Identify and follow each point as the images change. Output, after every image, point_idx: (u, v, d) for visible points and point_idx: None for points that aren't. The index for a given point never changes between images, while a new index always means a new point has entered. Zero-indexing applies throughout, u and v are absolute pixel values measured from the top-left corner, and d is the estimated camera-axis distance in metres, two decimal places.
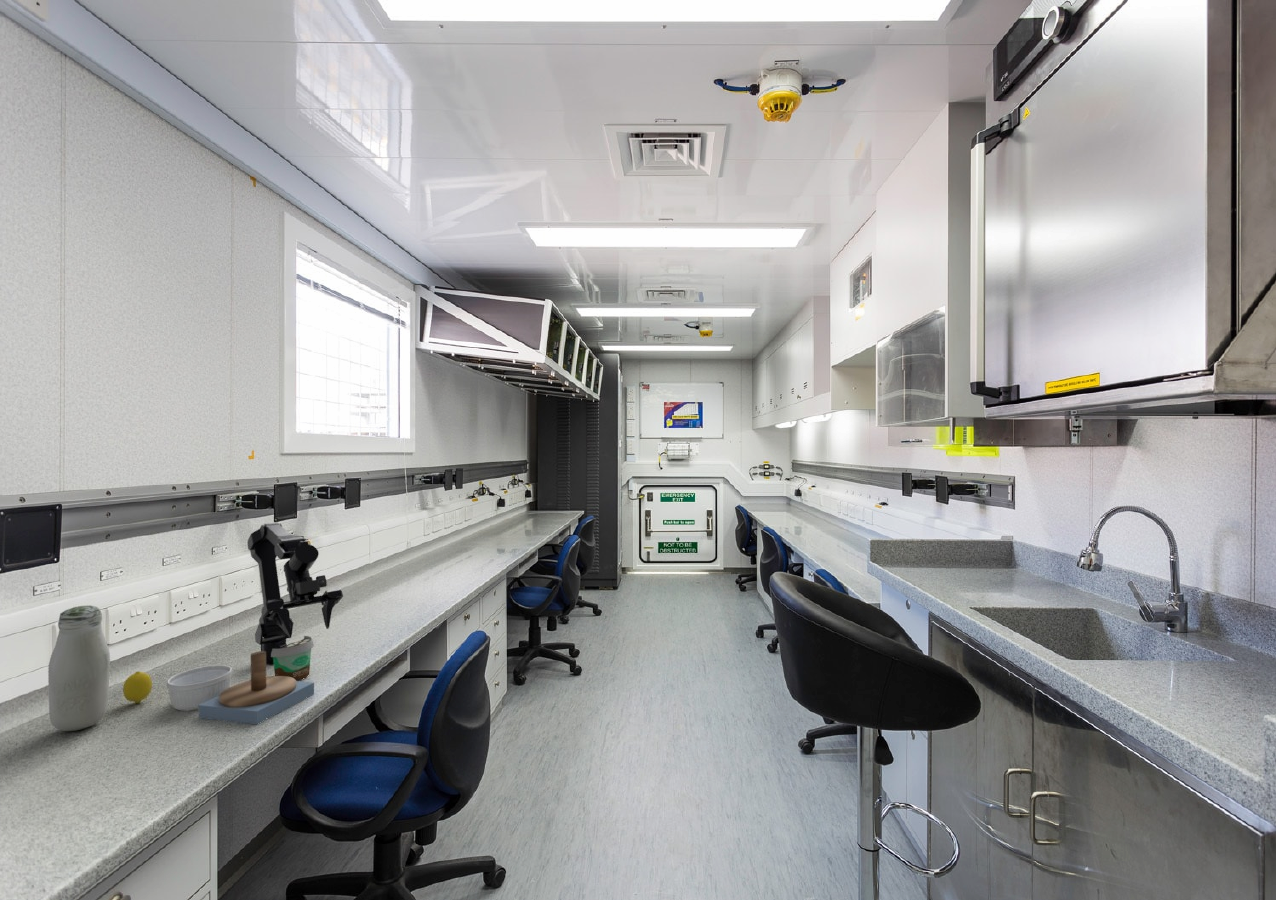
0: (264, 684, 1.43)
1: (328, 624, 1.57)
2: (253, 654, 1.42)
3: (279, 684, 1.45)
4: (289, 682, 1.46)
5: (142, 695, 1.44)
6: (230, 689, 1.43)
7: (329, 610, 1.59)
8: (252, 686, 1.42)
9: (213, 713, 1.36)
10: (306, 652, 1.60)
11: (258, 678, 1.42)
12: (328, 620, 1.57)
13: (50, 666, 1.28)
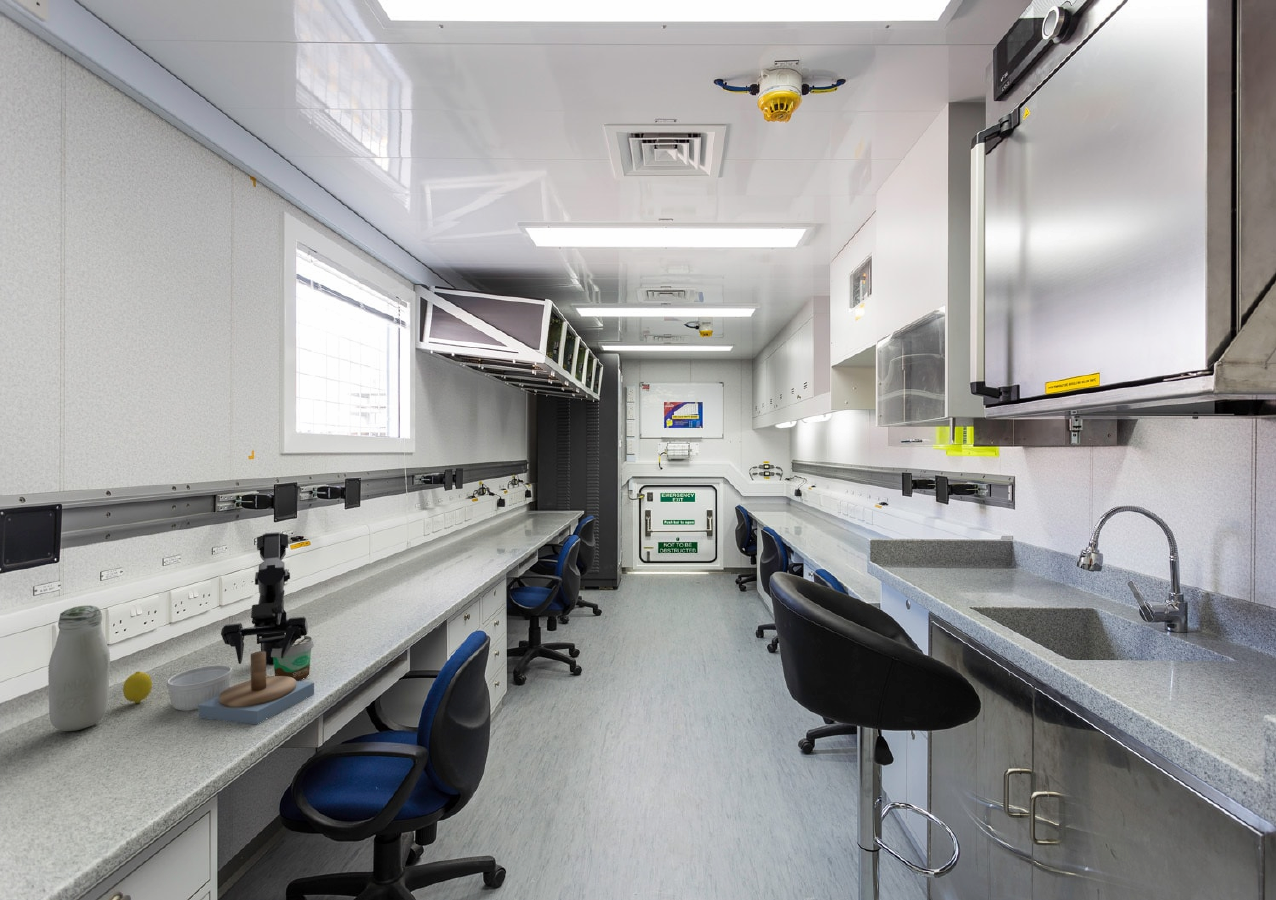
0: (264, 684, 1.43)
1: (282, 653, 1.47)
2: (253, 654, 1.42)
3: (279, 684, 1.45)
4: (289, 682, 1.46)
5: (142, 695, 1.44)
6: (230, 689, 1.43)
7: (287, 638, 1.50)
8: (252, 686, 1.42)
9: (213, 713, 1.36)
10: (306, 652, 1.60)
11: (258, 678, 1.42)
12: (283, 649, 1.48)
13: (50, 666, 1.28)
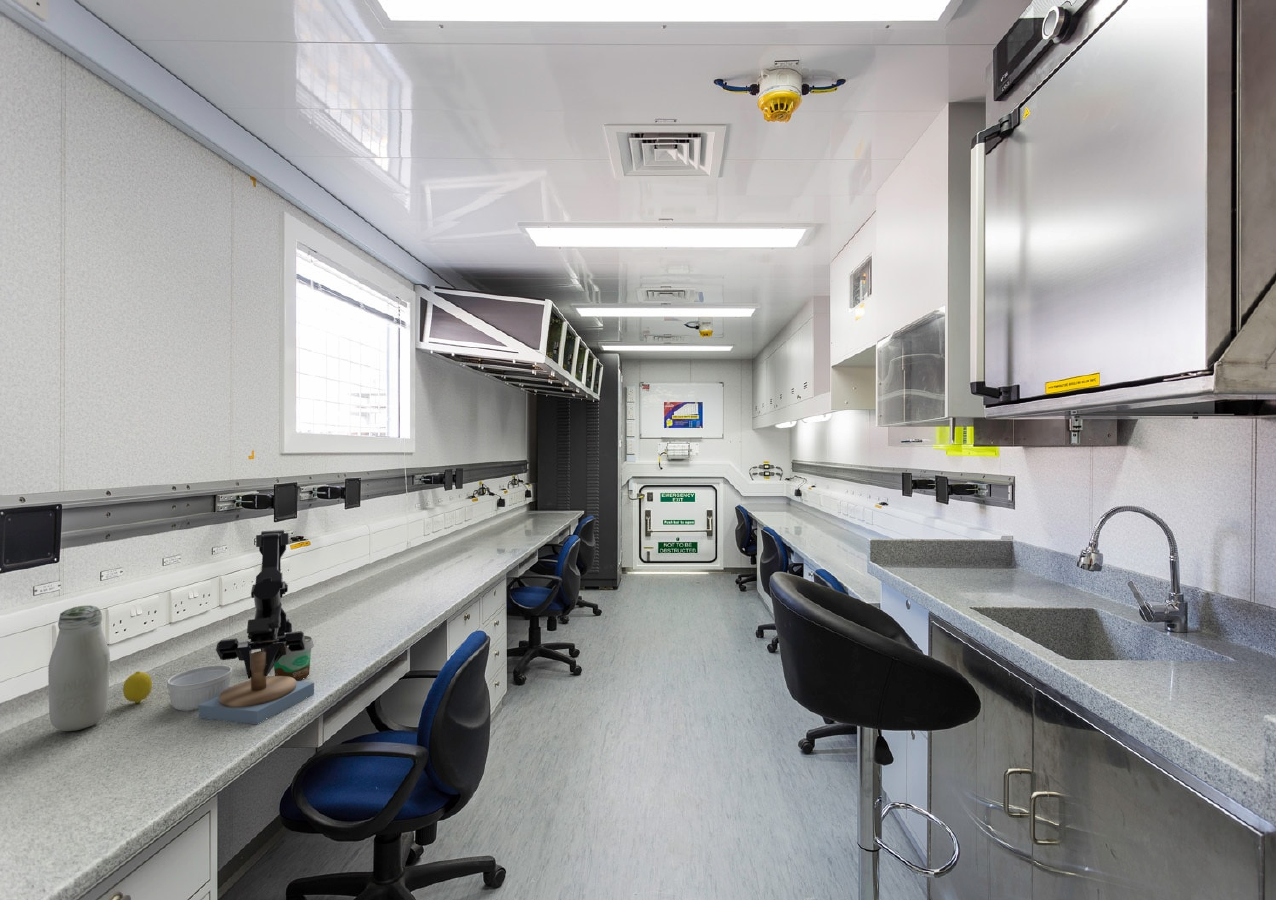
0: (264, 684, 1.43)
1: (266, 671, 1.43)
2: (253, 654, 1.42)
3: (279, 684, 1.45)
4: (289, 682, 1.46)
5: (142, 695, 1.44)
6: (230, 689, 1.43)
7: (271, 655, 1.45)
8: (252, 686, 1.42)
9: (213, 713, 1.36)
10: (306, 652, 1.60)
11: (258, 678, 1.42)
12: (267, 667, 1.43)
13: (50, 666, 1.28)
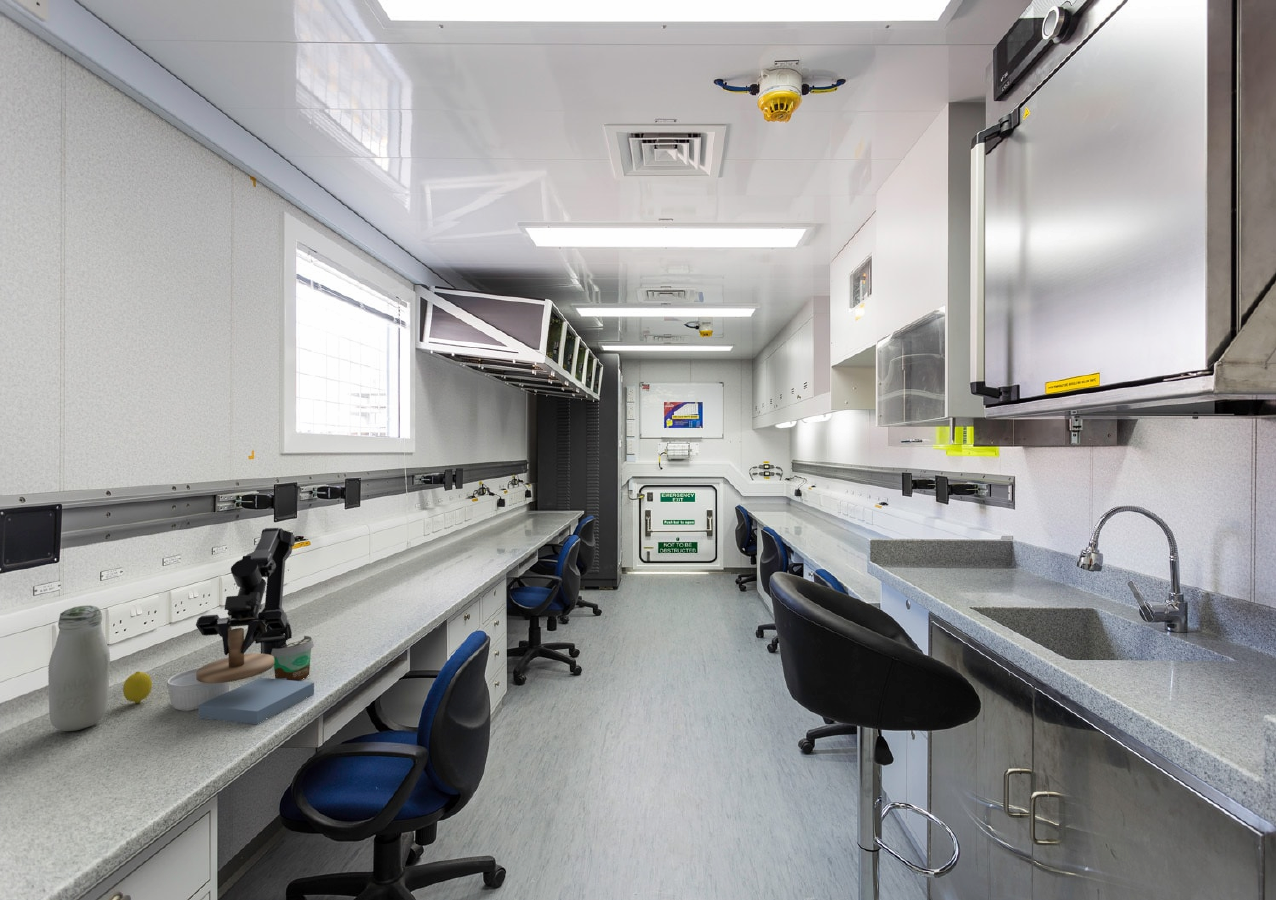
0: (241, 661, 1.43)
1: (242, 648, 1.42)
2: (230, 631, 1.42)
3: (256, 662, 1.45)
4: (267, 660, 1.46)
5: (142, 695, 1.44)
6: (210, 664, 1.43)
7: (249, 632, 1.45)
8: (229, 662, 1.42)
9: (213, 713, 1.36)
10: (306, 652, 1.60)
11: (235, 655, 1.42)
12: (244, 644, 1.43)
13: (50, 666, 1.28)
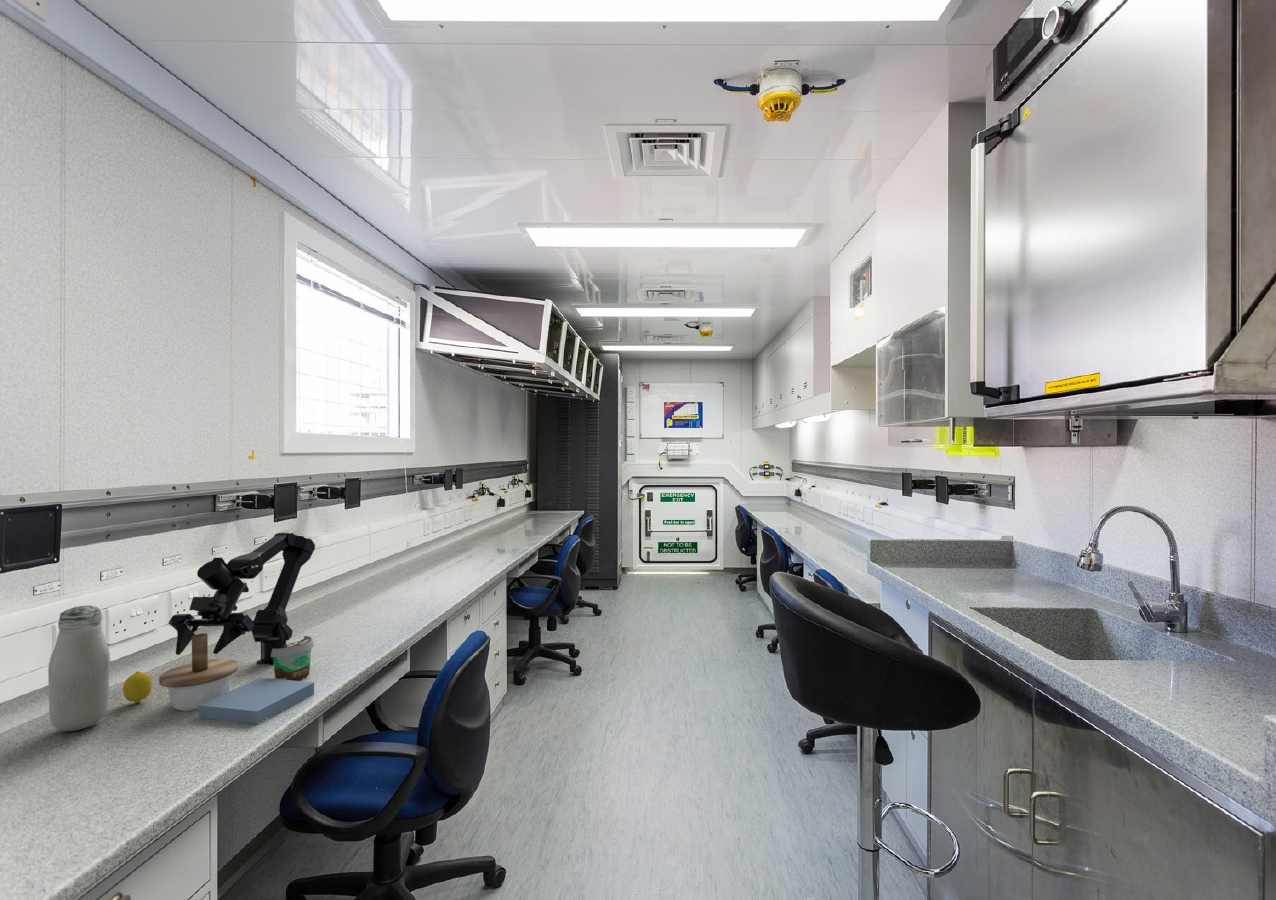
0: (203, 666, 1.45)
1: (215, 649, 1.45)
2: (194, 636, 1.45)
3: (218, 668, 1.47)
4: (229, 667, 1.47)
5: (142, 695, 1.44)
6: (180, 667, 1.48)
7: (223, 633, 1.47)
8: (192, 667, 1.45)
9: (213, 713, 1.36)
10: (306, 652, 1.60)
11: (196, 660, 1.44)
12: (217, 644, 1.45)
13: (50, 666, 1.28)
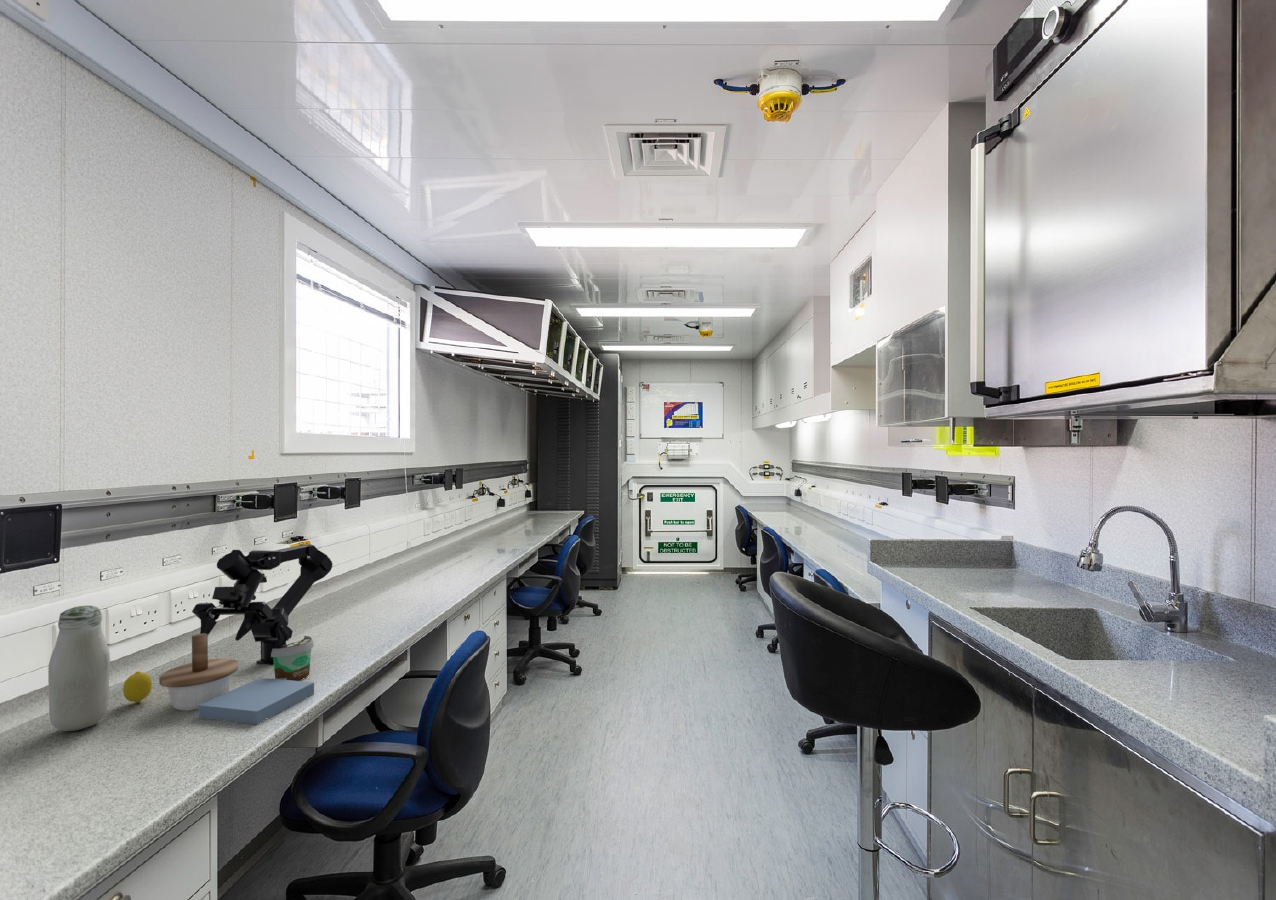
0: (203, 666, 1.45)
1: (236, 635, 1.53)
2: (194, 635, 1.45)
3: (219, 668, 1.47)
4: (229, 667, 1.47)
5: (142, 695, 1.44)
6: (180, 667, 1.48)
7: (244, 621, 1.55)
8: (192, 667, 1.45)
9: (213, 713, 1.36)
10: (306, 652, 1.60)
11: (196, 660, 1.44)
12: (239, 631, 1.54)
13: (50, 666, 1.28)
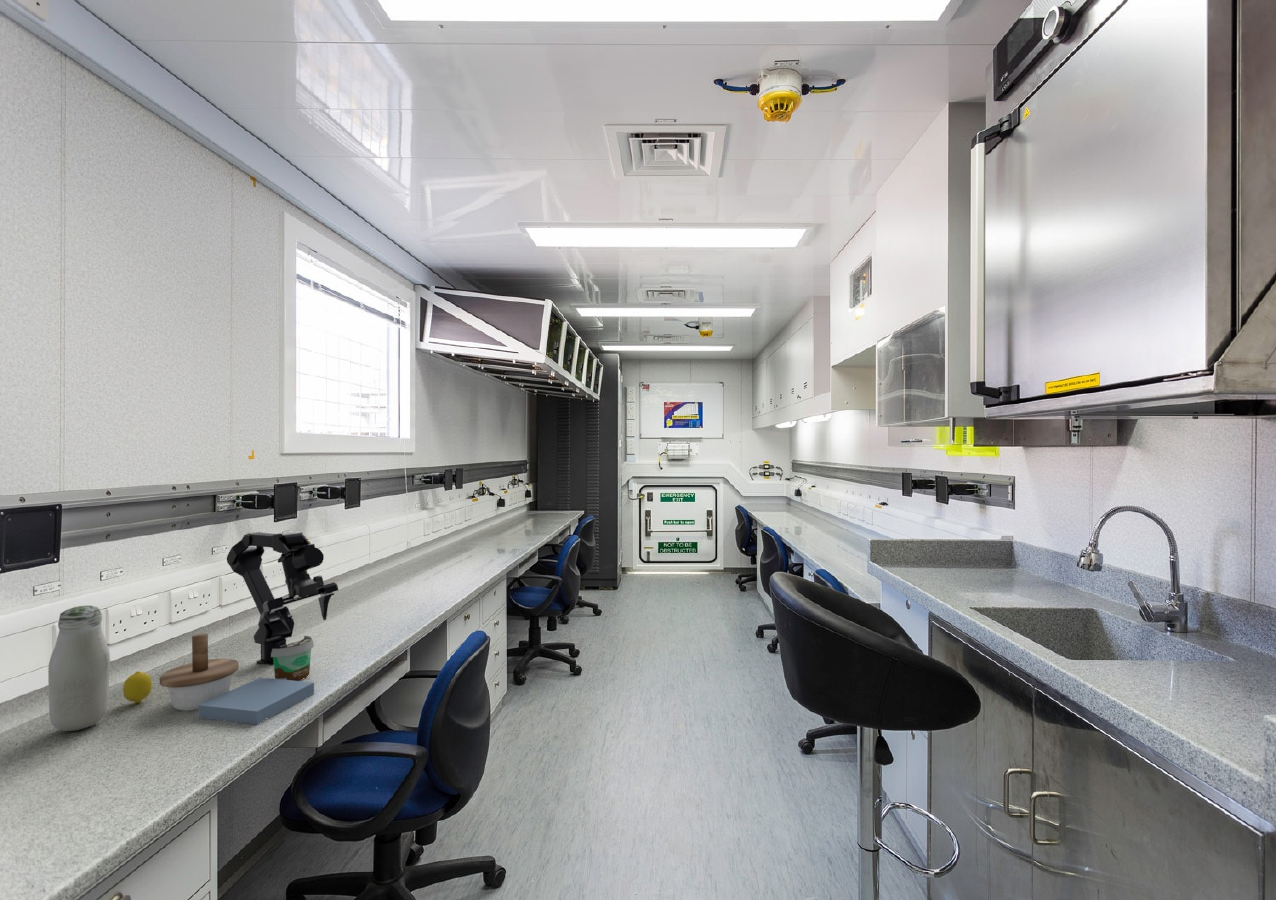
0: (203, 666, 1.45)
1: (325, 617, 1.71)
2: (194, 636, 1.46)
3: (219, 668, 1.47)
4: (229, 667, 1.47)
5: (142, 695, 1.44)
6: (181, 667, 1.48)
7: (325, 603, 1.71)
8: (192, 667, 1.45)
9: (213, 713, 1.36)
10: (306, 652, 1.60)
11: (197, 660, 1.44)
12: (325, 613, 1.71)
13: (50, 666, 1.28)
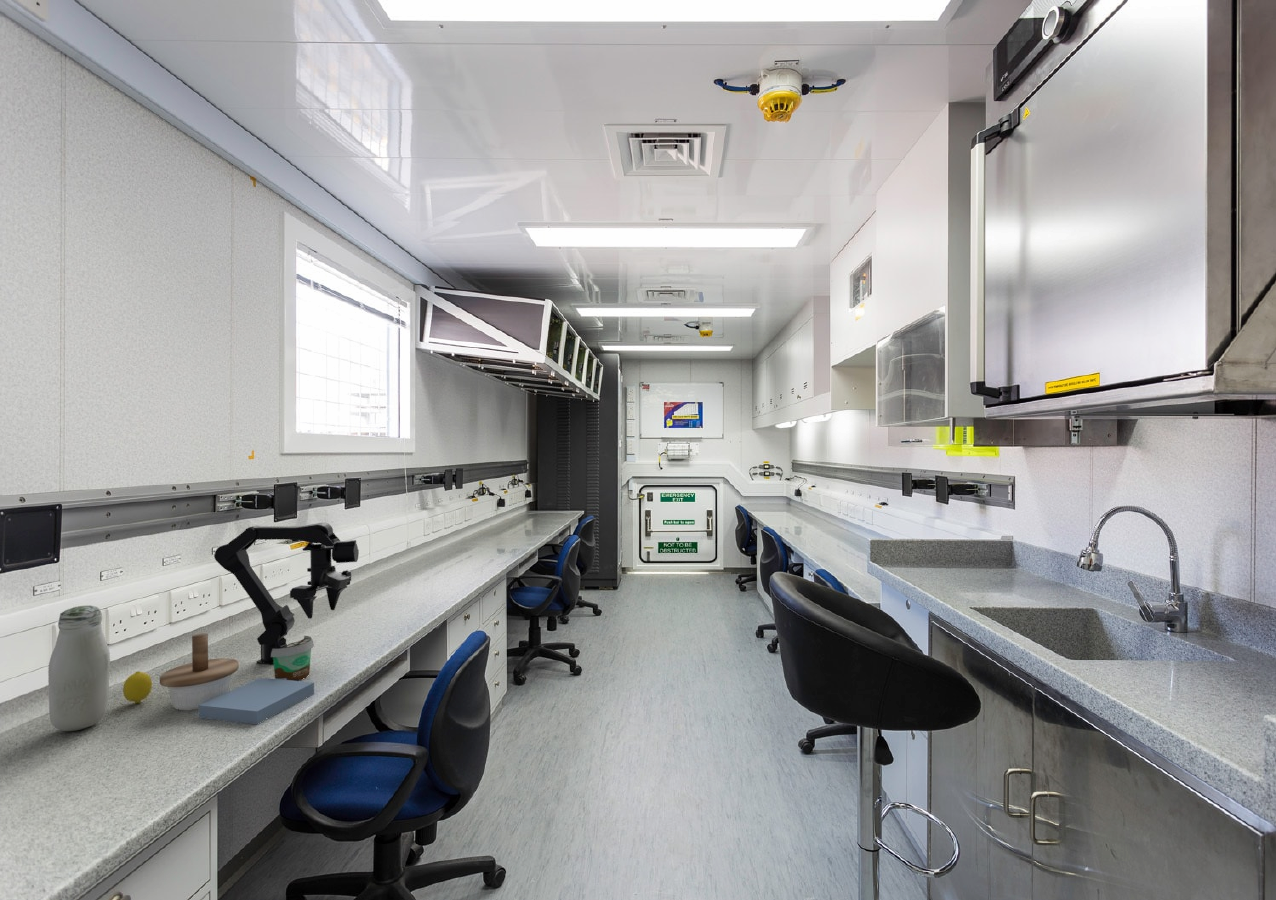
0: (203, 666, 1.45)
1: (334, 607, 1.82)
2: (194, 635, 1.46)
3: (219, 668, 1.47)
4: (229, 667, 1.48)
5: (142, 695, 1.44)
6: (180, 667, 1.48)
7: (338, 595, 1.83)
8: (192, 667, 1.45)
9: (213, 713, 1.36)
10: (306, 652, 1.60)
11: (197, 660, 1.45)
12: (335, 604, 1.82)
13: (50, 666, 1.28)
